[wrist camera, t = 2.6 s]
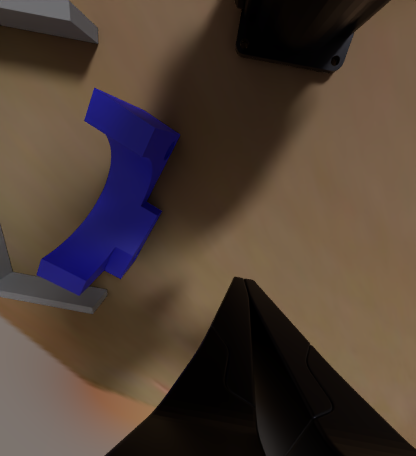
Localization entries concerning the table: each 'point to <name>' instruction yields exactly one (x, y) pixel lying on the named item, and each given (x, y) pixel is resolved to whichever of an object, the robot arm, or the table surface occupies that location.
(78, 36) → the bracket
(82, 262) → the blue cradle mount
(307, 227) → the table surface
